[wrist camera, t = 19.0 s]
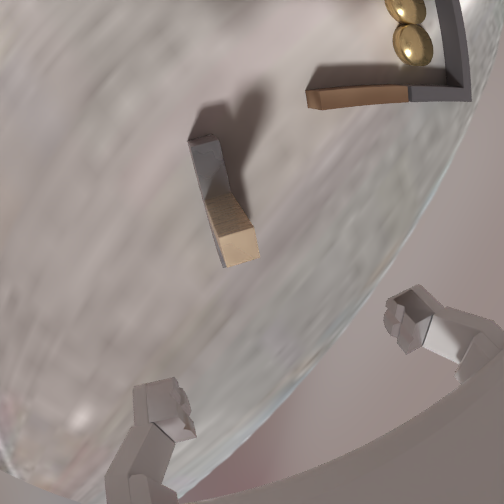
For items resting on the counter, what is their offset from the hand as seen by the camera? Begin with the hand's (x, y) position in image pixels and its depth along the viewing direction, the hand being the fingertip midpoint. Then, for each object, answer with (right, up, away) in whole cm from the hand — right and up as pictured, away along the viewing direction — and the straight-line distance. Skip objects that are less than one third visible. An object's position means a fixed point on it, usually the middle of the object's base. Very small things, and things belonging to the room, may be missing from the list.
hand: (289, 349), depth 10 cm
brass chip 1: (+13, +27, +9) cm, 31 cm away
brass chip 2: (+14, +24, +11) cm, 30 cm away
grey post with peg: (-4, +8, +14) cm, 17 cm away
